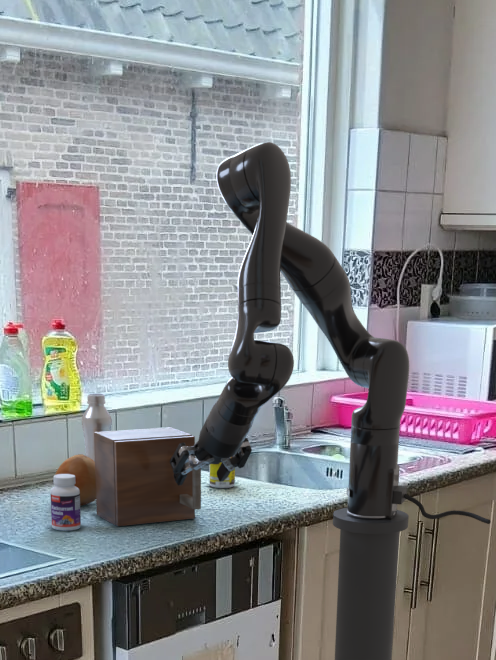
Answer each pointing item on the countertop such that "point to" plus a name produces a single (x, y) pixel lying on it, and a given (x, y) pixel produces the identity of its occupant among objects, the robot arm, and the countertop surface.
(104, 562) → the countertop surface
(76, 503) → the pill bottle
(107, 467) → the cabinet
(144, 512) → the door
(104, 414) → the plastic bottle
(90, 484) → the onion
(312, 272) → the robot arm
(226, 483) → the supplement bottle
